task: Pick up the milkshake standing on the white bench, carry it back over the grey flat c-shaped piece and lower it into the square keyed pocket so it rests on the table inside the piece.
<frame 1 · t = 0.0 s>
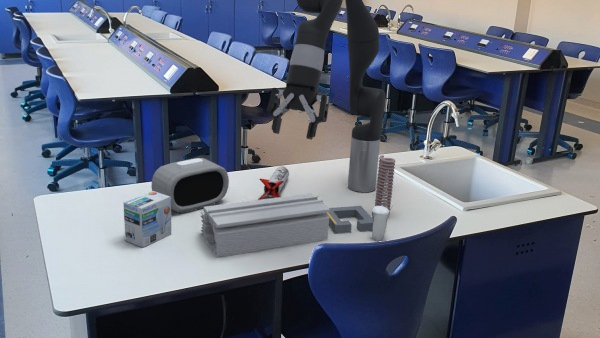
hand: (292, 136, 139), 31 cm above the table, tool tilted 20°, fingers open, 8 cm apart
aluminum extrusion profile: (264, 238, 161), on the table
model rocket: (276, 190, 194), on the table
grey flat c-shaped piece: (348, 222, 172), on the table
alarm clock: (191, 205, 179), on the table
light bulb box: (148, 238, 157), on the table
coil: (381, 215, 179), on the table
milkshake: (379, 239, 163), on the table
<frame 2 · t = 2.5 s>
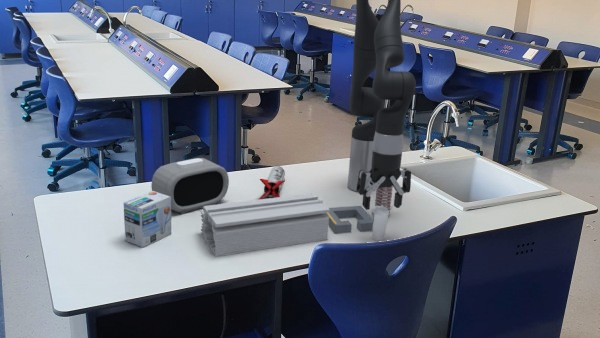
hand: (381, 207, 160), 9 cm above the table, tool pointing down, fingers open, 8 cm apart
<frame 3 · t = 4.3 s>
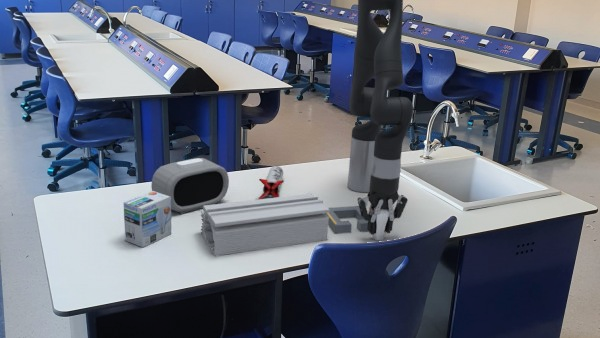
hand: (379, 232, 162), 2 cm above the table, tool pointing down, fingers closed on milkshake, 4 cm apart
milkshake: (379, 238, 163), on the table, touching gripper
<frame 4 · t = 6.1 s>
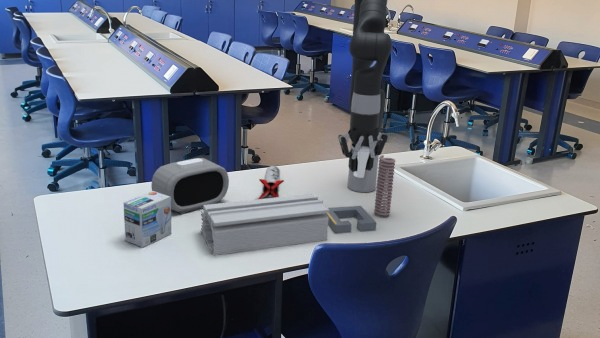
hand: (360, 169, 165), 17 cm above the table, tool pointing down, fingers closed on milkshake, 4 cm apart
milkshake: (360, 176, 166), point 15 cm above the table, touching gripper
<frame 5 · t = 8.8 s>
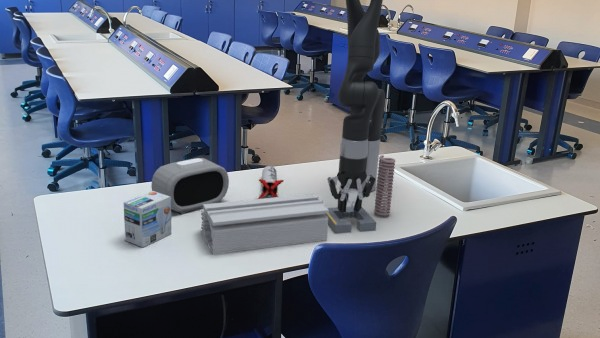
hand: (349, 210, 170), 4 cm above the table, tool pointing down, fingers closed on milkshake, 4 cm apart
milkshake: (349, 217, 171), point 2 cm above the table, touching gripper
when the fingers open (4 cm above the table, at t = 8.8 s): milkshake drops 2 cm, on the table.
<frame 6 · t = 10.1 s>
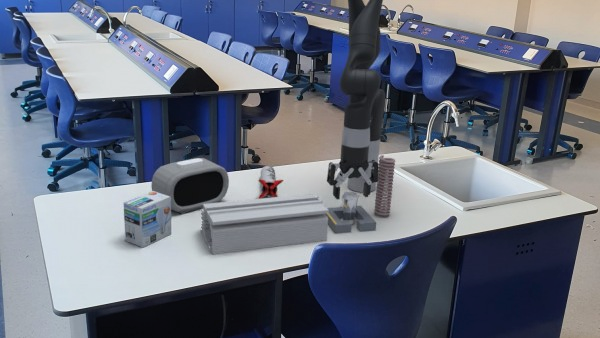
hand: (351, 197, 169), 8 cm above the table, tool pointing down, fingers open, 8 cm apart
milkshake: (349, 223, 172), on the table
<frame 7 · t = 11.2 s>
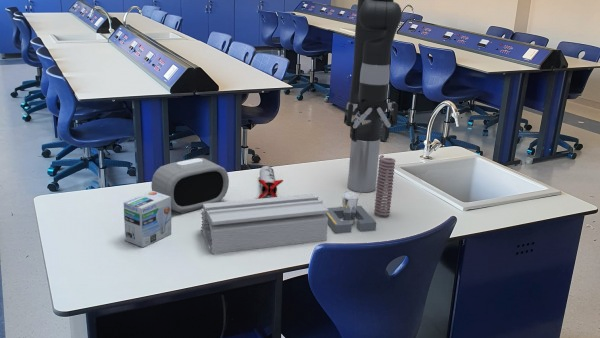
hand: (369, 140, 162), 25 cm above the table, tool pointing down, fingers open, 8 cm apart
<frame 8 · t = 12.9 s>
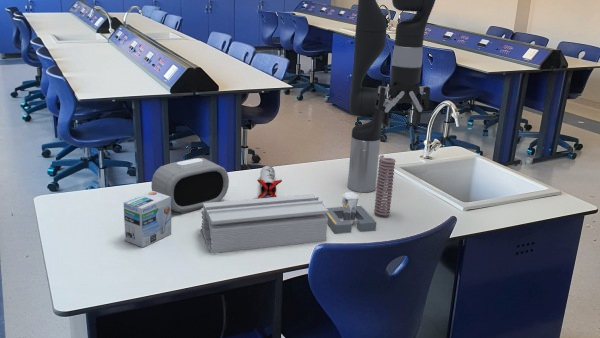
hand: (400, 125, 159), 30 cm above the table, tool pointing down, fingers open, 8 cm apart
at the end: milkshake 0.5 cm off-centre on the grey flat c-shaped piece, point 0.0 cm above the grey flat c-shaped piece's base; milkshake tilted 0°; the gripper is holding nothing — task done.
